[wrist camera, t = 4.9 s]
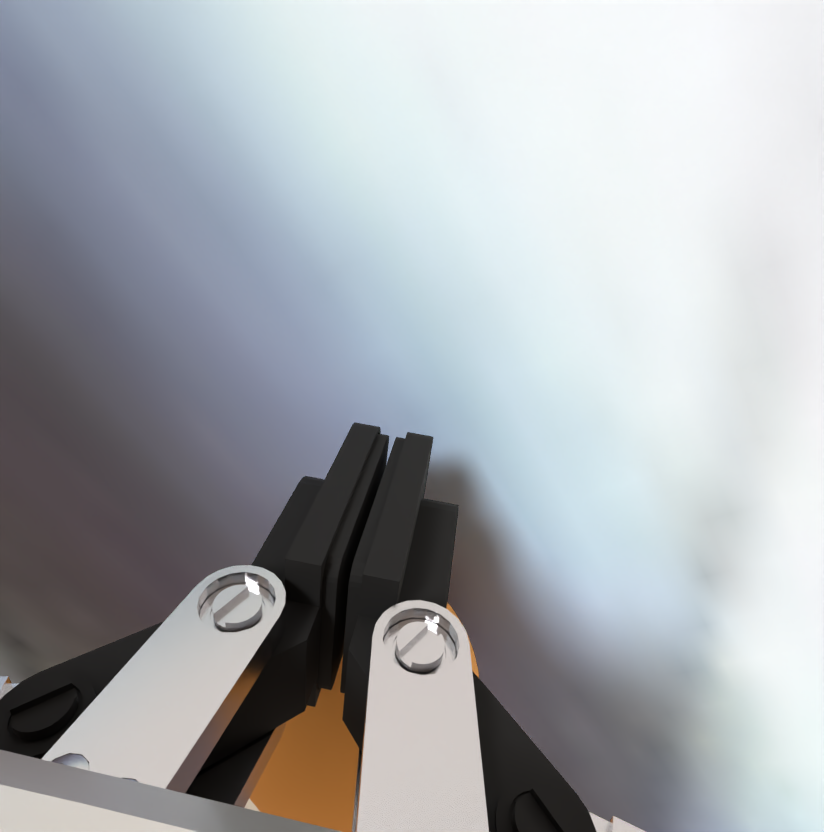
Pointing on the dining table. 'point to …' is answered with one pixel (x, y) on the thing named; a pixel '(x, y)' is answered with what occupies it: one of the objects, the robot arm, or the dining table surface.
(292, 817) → the ball
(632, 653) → the dining table surface
